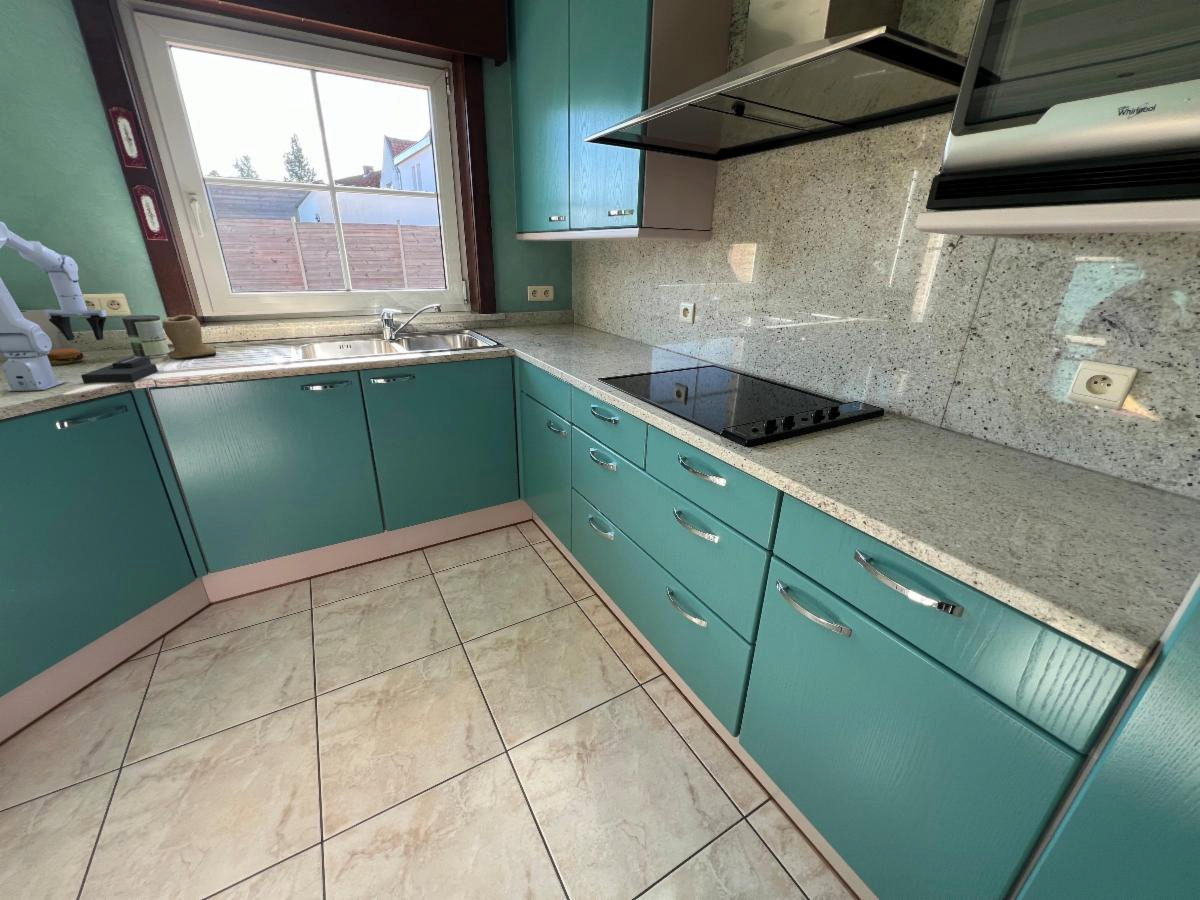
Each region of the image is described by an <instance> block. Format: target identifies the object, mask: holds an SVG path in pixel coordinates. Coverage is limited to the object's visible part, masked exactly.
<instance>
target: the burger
mask: <svg viewBox="0 0 1200 900" xmlns="http://www.w3.org/2000/svg"><path fill="white" fill-rule="evenodd" d="M47 357H48V359H49V362H50V364H51V366H63V365H69V364H76V363H79V362H82V361H84V358H86V356H84V354H83V352H82V351H81V350H80V349H78V348H75V347H72V348H55V349H51V350H50V351H49V354H47Z"/></svg>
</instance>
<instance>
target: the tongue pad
mask: <svg viewBox="0 0 1200 900" xmlns="http://www.w3.org/2000/svg"><path fill="white" fill-rule="evenodd" d="M145 364H152V362H151V358H149V357H135V356H130V357H127V358H124V359H121V360H118V361H116V362H113V363H111V365H113V368H114V369H124V368H136V367H139V366H142V365H145Z"/></svg>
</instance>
